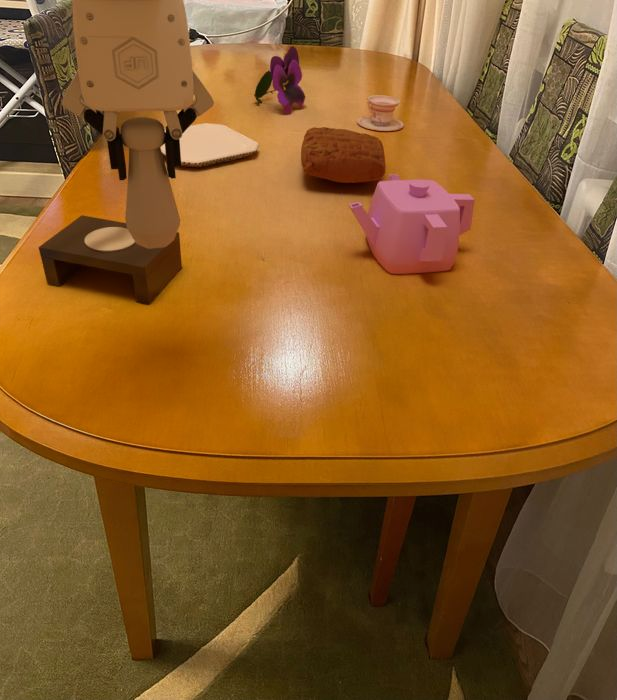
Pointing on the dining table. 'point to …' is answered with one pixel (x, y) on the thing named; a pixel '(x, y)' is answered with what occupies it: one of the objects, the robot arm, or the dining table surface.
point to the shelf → (109, 255)
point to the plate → (212, 145)
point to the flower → (283, 81)
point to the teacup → (381, 114)
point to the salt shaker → (148, 185)
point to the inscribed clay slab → (342, 155)
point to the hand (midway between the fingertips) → (147, 172)
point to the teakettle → (414, 225)
